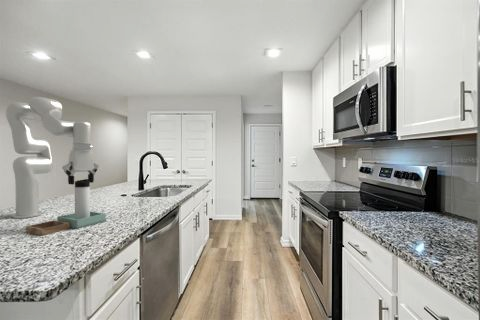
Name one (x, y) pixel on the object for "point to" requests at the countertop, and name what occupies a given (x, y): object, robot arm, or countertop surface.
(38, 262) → the countertop surface
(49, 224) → the brown wooden tray
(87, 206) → the travel mug
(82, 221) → the tray
